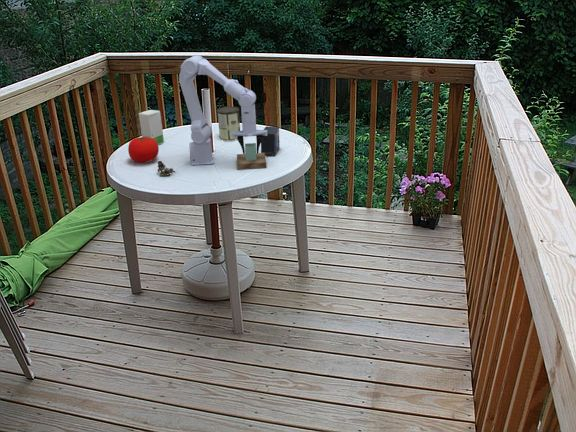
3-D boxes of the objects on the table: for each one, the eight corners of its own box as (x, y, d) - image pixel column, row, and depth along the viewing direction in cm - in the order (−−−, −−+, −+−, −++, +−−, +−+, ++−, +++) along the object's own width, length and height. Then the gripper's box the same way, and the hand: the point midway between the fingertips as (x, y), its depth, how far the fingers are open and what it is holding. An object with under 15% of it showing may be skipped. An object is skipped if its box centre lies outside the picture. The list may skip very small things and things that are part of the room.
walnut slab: (237, 169, 235) (237, 164, 234) (237, 159, 246) (236, 154, 244) (266, 168, 236) (266, 162, 235) (264, 158, 246) (264, 152, 245)
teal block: (245, 160, 237) (244, 147, 234) (245, 157, 241) (245, 143, 238) (256, 160, 237) (255, 146, 234) (256, 156, 241) (255, 143, 238)
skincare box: (152, 148, 263) (147, 115, 256) (142, 145, 266) (137, 113, 260) (164, 142, 270) (160, 110, 263) (154, 140, 273) (150, 108, 266)
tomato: (129, 156, 253) (126, 134, 249) (159, 153, 256) (156, 131, 251) (130, 167, 241) (126, 144, 236) (160, 164, 243) (157, 141, 239)
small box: (275, 156, 248) (274, 133, 243) (260, 156, 249) (259, 133, 244) (280, 148, 257) (279, 126, 252) (266, 148, 258) (265, 125, 254)
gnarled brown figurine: (176, 179, 226) (151, 168, 225) (173, 191, 230) (148, 181, 229) (187, 164, 236) (162, 154, 235) (183, 177, 239) (159, 166, 239)
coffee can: (228, 133, 280) (226, 105, 273) (245, 136, 275) (243, 107, 268) (215, 139, 272) (212, 110, 266) (232, 142, 267) (230, 113, 261)
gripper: (231, 125, 228) (233, 157, 234) (267, 123, 229) (268, 154, 235) (231, 120, 235) (233, 151, 241) (266, 118, 236) (267, 149, 242)
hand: (250, 152), depth 238 cm, fingers open, 5 cm apart
